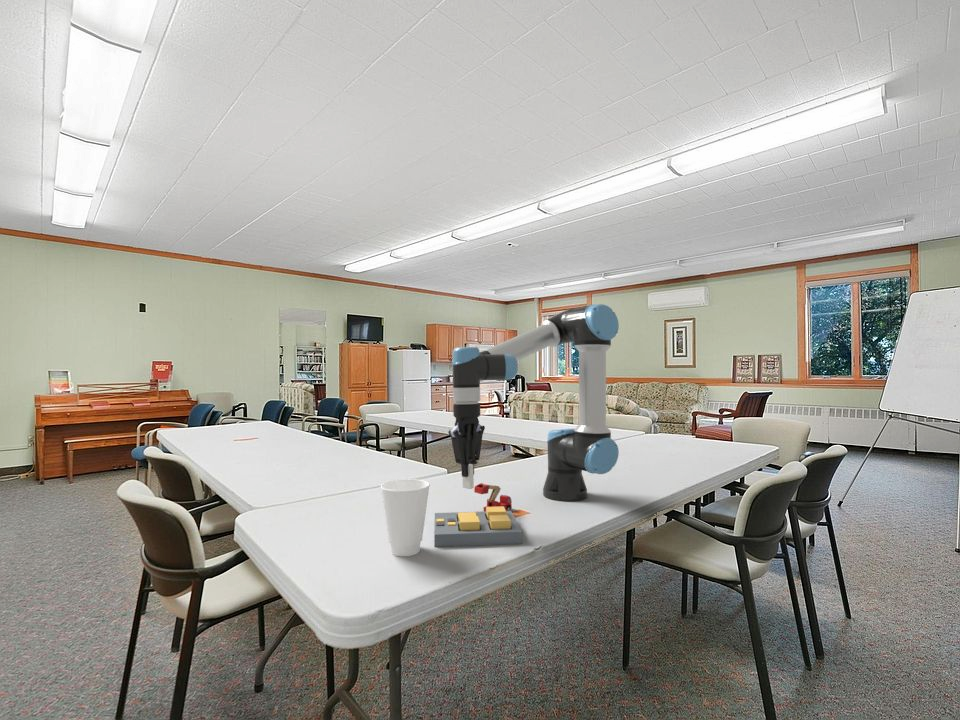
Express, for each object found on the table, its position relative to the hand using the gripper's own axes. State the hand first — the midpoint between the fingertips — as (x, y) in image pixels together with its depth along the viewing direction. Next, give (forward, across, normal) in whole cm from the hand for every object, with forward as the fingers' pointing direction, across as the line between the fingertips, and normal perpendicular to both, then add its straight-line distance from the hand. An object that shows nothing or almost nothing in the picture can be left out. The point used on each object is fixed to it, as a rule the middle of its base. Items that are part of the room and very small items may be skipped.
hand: (468, 487), depth 133 cm
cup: (+11, +22, -1) cm, 25 cm away
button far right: (+11, 0, 0) cm, 11 cm away
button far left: (+9, -5, +5) cm, 12 cm away
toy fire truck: (+12, -15, -3) cm, 19 cm away
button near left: (+9, 0, +11) cm, 15 cm away
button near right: (+9, +6, +5) cm, 12 cm away
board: (+11, +2, +4) cm, 12 cm away
